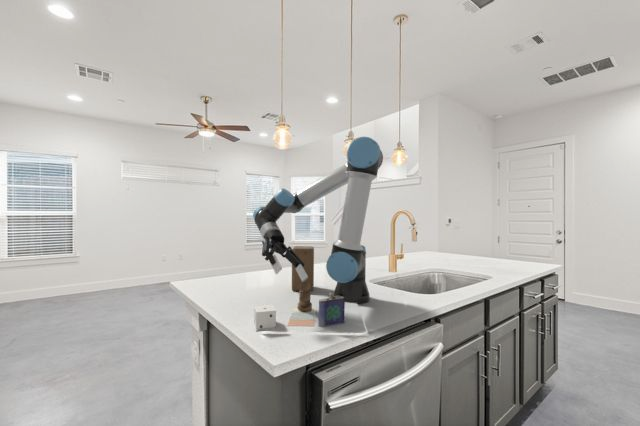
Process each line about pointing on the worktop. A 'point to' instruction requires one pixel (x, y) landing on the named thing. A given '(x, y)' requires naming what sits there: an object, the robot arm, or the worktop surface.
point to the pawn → (304, 297)
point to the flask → (331, 310)
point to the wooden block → (308, 259)
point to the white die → (264, 317)
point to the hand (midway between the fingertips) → (292, 275)
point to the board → (302, 317)
